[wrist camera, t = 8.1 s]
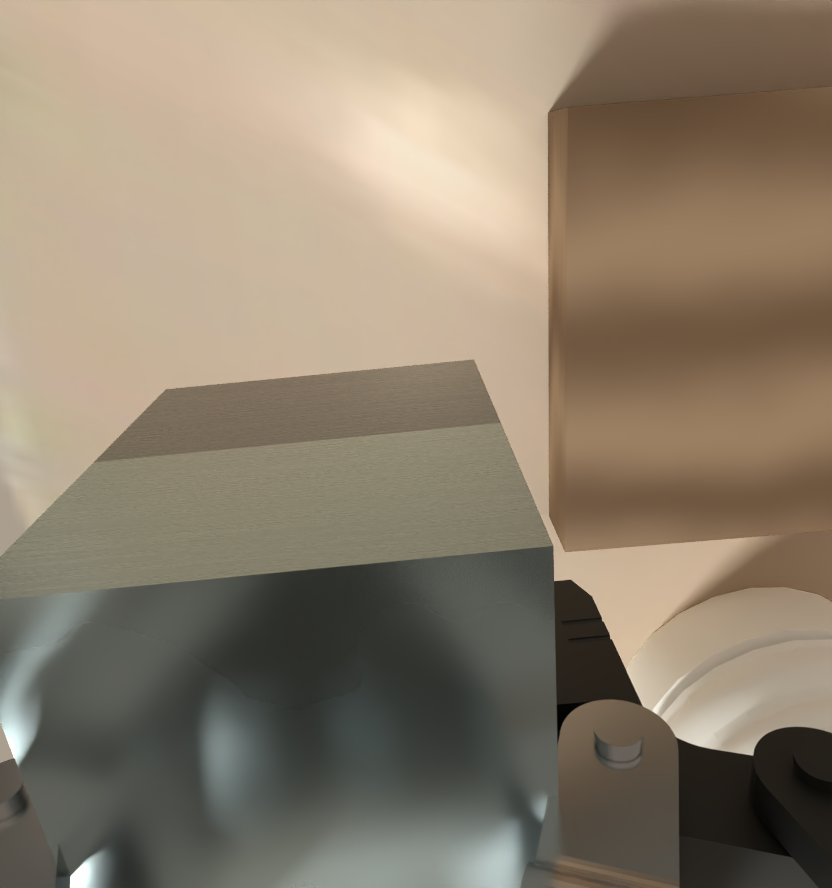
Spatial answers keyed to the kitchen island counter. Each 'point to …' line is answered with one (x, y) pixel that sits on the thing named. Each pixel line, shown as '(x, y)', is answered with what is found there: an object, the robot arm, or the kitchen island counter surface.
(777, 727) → the honey pot
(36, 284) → the kitchen island counter surface
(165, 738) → the block
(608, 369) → the walnut stand
